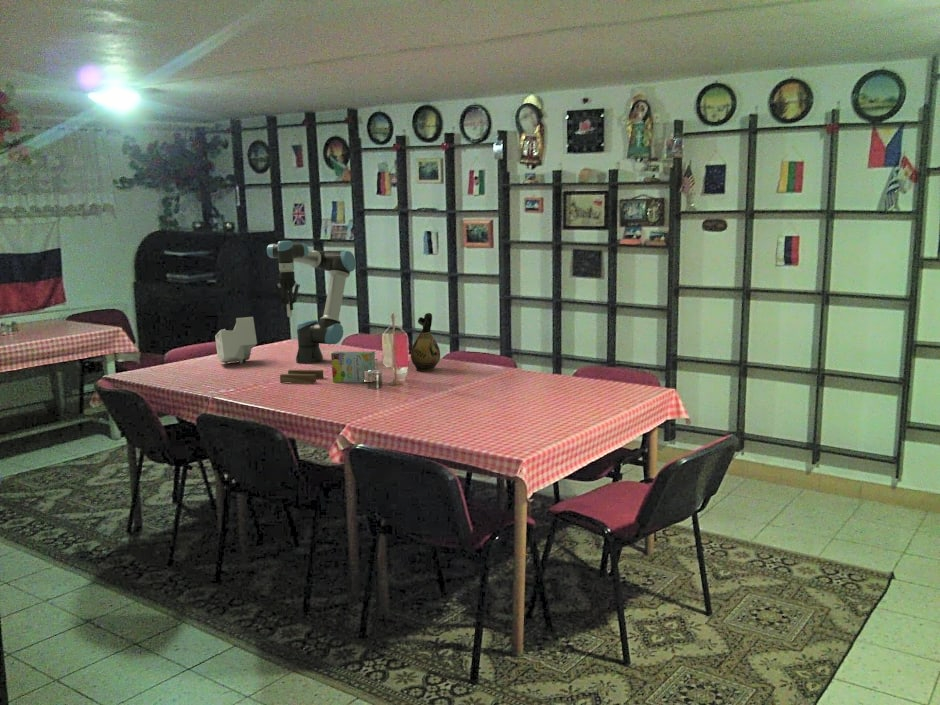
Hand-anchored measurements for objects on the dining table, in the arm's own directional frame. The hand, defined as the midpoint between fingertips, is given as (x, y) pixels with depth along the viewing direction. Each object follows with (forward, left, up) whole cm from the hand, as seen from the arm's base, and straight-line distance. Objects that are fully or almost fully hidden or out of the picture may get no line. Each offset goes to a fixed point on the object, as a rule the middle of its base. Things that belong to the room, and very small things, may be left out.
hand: (289, 316), depth 438 cm
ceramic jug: (-13, +69, -31) cm, 77 cm away
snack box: (+17, +39, -31) cm, 52 cm away
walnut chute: (+16, +11, -30) cm, 36 cm away
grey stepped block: (-27, -45, -31) cm, 61 cm away
